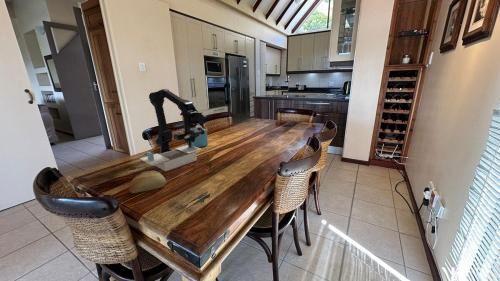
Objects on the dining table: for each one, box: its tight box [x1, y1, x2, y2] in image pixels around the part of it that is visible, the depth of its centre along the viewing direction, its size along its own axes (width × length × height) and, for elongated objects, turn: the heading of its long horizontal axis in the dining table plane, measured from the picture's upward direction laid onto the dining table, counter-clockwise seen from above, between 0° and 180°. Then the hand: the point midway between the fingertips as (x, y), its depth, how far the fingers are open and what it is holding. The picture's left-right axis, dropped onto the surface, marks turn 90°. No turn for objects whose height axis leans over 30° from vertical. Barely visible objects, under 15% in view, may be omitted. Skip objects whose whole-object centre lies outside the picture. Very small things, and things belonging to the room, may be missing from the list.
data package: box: [194, 128, 209, 148], centre depth 151 cm, size 12×4×12 cm, turn 109°
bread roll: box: [128, 170, 167, 194], centre depth 92 cm, size 10×15×8 cm, turn 123°
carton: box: [154, 149, 198, 172], centre depth 122 cm, size 15×20×5 cm
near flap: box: [139, 151, 170, 166], centre depth 112 cm, size 14×10×4 cm, turn 49°
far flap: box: [174, 141, 203, 154], centre depth 128 cm, size 14×10×4 cm, turn 49°
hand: (191, 147), depth 130 cm, fingers closed on far flap
